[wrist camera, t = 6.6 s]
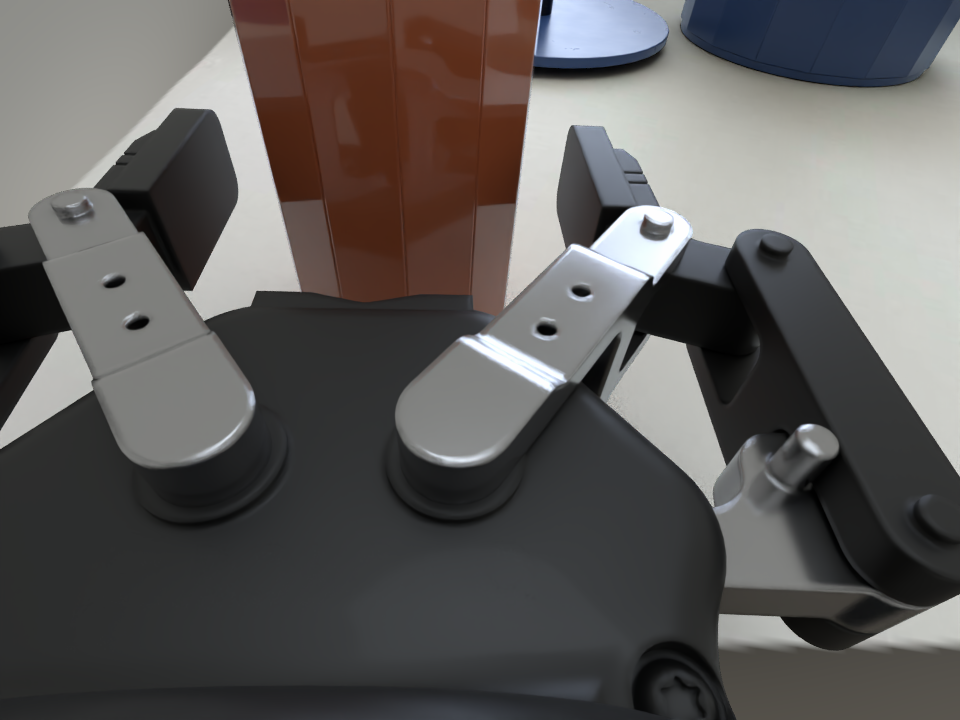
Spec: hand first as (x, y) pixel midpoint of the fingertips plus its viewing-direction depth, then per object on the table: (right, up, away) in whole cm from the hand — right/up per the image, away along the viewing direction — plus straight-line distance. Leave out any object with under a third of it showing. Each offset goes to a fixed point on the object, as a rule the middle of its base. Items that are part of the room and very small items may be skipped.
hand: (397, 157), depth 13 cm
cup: (0, -4, +4) cm, 6 cm away
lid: (+6, +20, +26) cm, 33 cm away
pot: (+26, +20, +28) cm, 44 cm away
